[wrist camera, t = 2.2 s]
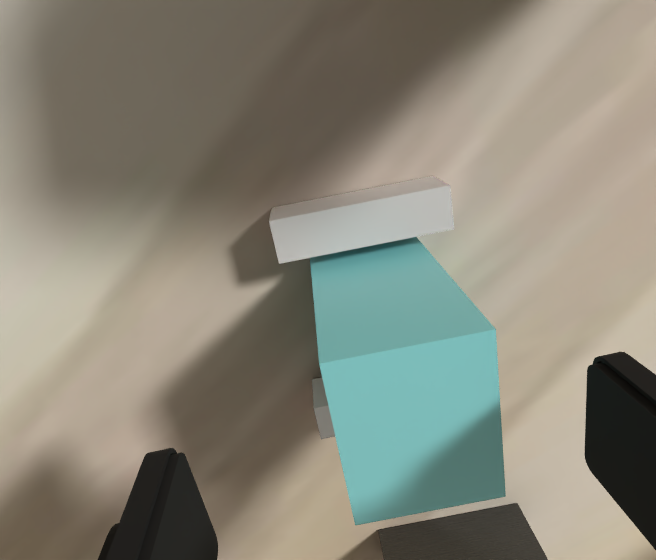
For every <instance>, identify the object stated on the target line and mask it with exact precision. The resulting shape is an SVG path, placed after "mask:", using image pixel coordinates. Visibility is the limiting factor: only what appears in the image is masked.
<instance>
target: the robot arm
mask: <svg viewBox="0 0 656 560" xmlns="http://www.w3.org/2000/svg"><path fill="white" fill-rule="evenodd" d="M585 459H586V463H587V465H588V467H589V469H590V471H591V472H592V473H593V475H594V476H595V477H596V478H597V479H598V481H599V482H600V483H601V484H602V486H603V487H604V488H605V489H606V490H607V492H608V493H609V494H610V495H611V496H612V498H613V499H614V500H615V501H616V503H617V504H618V505H619V506H620V507H621V509H622V510H623V511H624V512H625V513H626V515H627V516H628V517H629V518H630V519H631V521H632V522H633V523H634V524H635V526H636V527H637V528H638V529H639V530H640V532H641V533H642V534H643V535H644V536H645V538H646V539H647V540H648V541H649V543H650V544H651V545H652V546H653V547H654V549H655V550H656V375H655V374H654V373H652V372H651V371H650V370H648V369H647V368H646V367H644V366H643V365H642V364H640V363H639V362H638V361H636V360H635V359H634V358H632V357H631V356H630V355H628V354H626V353H625V352H617V353H613V354H608V355H603V356H599V357H596V358H595V359H594V361H593V365H590V366H589V367H588V370H587V398H586V430H585ZM217 556H218V543H217V537H216V534H215V531H214V529H213V526H212V524H211V521H210V518H209V516H208V513H207V511H206V508H205V505H204V503H203V500H202V498H201V495H200V493H199V490H198V487H197V485H196V482H195V480H194V477H193V474H192V472H191V469H190V467H189V464H188V461H187V459H186V456H185V454H184V453H178V454H177V452H176V450H175V449H174V448H169V449H164V450H160V451H155V452H150V453H147V454H146V455H145V457H144V459H143V462H142V464H141V467H140V470H139V472H138V475H137V478H136V480H135V483H134V486H133V488H132V491H131V493H130V496H129V499H128V501H127V504H126V507H125V509H124V512H123V515H122V517H121V520H120V523H117V524H115V525H114V526H113V527H112V528H111V529H110V531H109V533H108V535H107V538H106V540H105V543H104V545H103V548H102V550H101V553H100V556H99V558H98V560H217Z"/></svg>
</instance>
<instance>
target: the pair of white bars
mask: <svg viewBox="0 0 656 560" xmlns="http://www.w3.org/2000/svg"><path fill="white" fill-rule="evenodd" d="M269 224H270V228H271V232H272V236H273V240H274V245H275V249H276V253H277V257H278V261H279V264H281V263H286V262H291V261H296V260H301V259H306V258H311V257H316V256H321V255H327V254H332V253H337V252H342V251H347V250H352V249H357V248H362V247H367V246H372V245H377V244H382V243H387V242H392V241H397V240H403V239H408V238H413V237H418V236H423V235H428V234H433V233H438V232H443V231H448V230H453V229H454V221H453V210H452V199H451V187H450V185H449V184H447V183H445V182H444V181H442V180H440V179H439V178H437V177H435V176H429V177H424V178H419V179H414V180H409V181H404V182H399V183H394V184H389V185H384V186H379V187H374V188H369V189H364V190H359V191H354V192H349V193H344V194H339V195H334V196H329V197H323V198H318V199H313V200H308V201H303V202H298V203H293V204H288V205H283V206H278V207H273V208H272V209H271V214H270V218H269ZM312 388H313V406H314V412H315V416H316V420H317V425H318V429H319V433H320V437H321V439H324V438H330V437H335V432H334V428H333V423H332V419H331V414H330V410H329V405H328V401H327V397H326V392H325V388H324V383H323V379H322V377H321V378H316V379H312Z"/></svg>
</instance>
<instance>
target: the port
mask: <svg viewBox="0 0 656 560" xmlns="http://www.w3.org/2000/svg"><path fill="white" fill-rule="evenodd" d="M378 531H379V536H380V542H381V547H382V552H383V557H384V560H547V557H546V555H545V553H544V551H543V550H542V548H541V546H540V544H539V542H538V540H537V539H536V537H535V535H534V533H533V531H532V529H531V528H530V526H529V524H528V522H527V520H526V518H525V517H524V515H523V513H522V511H521V509H520V507H519V505H518V504H517V503H516V504H511V505H506V506H501V507H495V508H490V509H485V510H480V511H475V512H469V513H464V514H459V515H454V516H449V517H443V518H438V519H433V520H428V521H423V522H417V523H412V524H407V525H402V526H397V527H391V528H386V529H381V530H378Z"/></svg>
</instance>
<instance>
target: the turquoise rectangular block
mask: <svg viewBox="0 0 656 560" xmlns="http://www.w3.org/2000/svg"><path fill="white" fill-rule="evenodd" d="M310 265H311V276H312V287H313V299H314V310H315V322H316V333H317V345H318V356H319V365H320V370H321V374H322V379H323V383H324V388H325V392H326V397H327V401H328V405H329V410H330V414H331V419H332V423H333V428H334V432H335V437H336V441H337V446H338V450H339V455H340V459H341V463H342V468H343V472H344V477H345V481H346V486H347V490H348V495H349V499H350V504H351V508H352V513H353V517H354V522H355V525H360V524H365V523H370V522H376V521H381V520H386V519H391V518H396V517H402V516H407V515H412V514H417V513H422V512H428V511H433V510H438V509H443V508H448V507H454V506H459V505H464V504H469V503H474V502H479V501H485V500H490V499H495V498H500V497H505V496H506V495H505V478H504V461H503V444H502V427H501V410H500V393H499V377H498V360H497V343H496V329H495V328H494V327H493V326H492V324H491V323H490V322H489V321H488V320H487V319H486V318H485V316H484V315H483V314H482V313H481V312H480V311H479V309H478V308H477V307H476V306H475V305H474V304H473V302H472V301H471V300H470V299H469V298H468V297H467V295H466V294H465V293H464V292H463V291H462V290H461V288H460V287H459V286H458V285H457V284H456V283H455V281H454V280H453V279H452V278H451V277H450V276H449V275H448V273H447V272H446V271H445V270H444V269H443V268H442V266H441V265H440V264H439V263H438V262H437V261H436V259H435V258H434V257H433V256H432V255H431V254H430V252H429V251H428V250H427V249H426V248H425V247H424V245H423V244H422V243H421V242H420V241H419V240H418V238H417V237H413V238H408V239H403V240H397V241H392V242H387V243H382V244H377V245H372V246H367V247H362V248H357V249H352V250H347V251H342V252H337V253H332V254H327V255H321V256H316V257H311V258H310Z"/></svg>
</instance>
